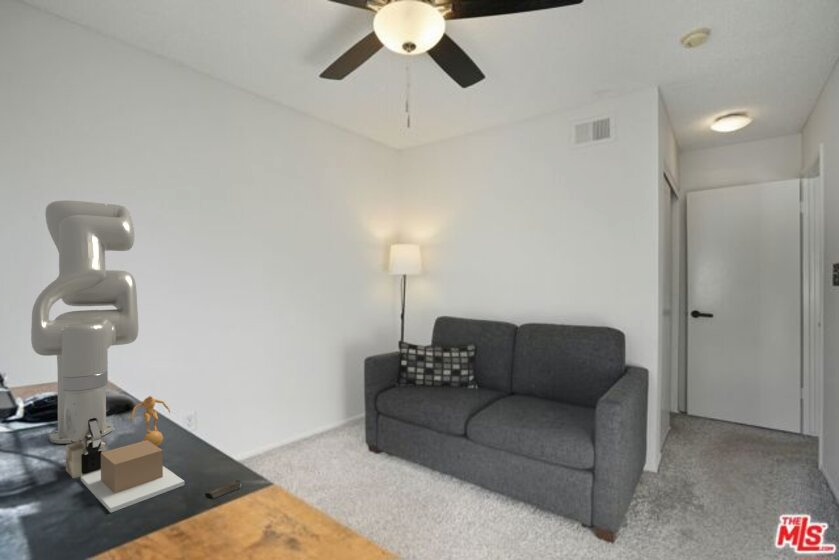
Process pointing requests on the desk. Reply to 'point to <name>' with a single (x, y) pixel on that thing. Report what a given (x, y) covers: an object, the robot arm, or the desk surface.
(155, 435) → the figurine
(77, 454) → the maple block
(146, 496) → the build board
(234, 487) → the block
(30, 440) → the desk surface
